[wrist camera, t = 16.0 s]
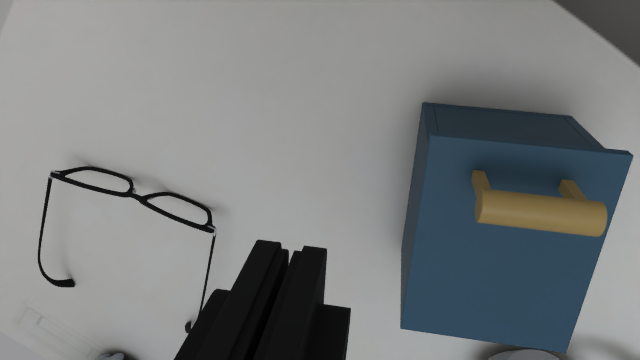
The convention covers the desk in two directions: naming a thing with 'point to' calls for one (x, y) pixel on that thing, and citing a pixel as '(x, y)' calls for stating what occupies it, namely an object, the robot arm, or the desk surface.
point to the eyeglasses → (130, 193)
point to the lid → (508, 237)
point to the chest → (486, 125)
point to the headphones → (524, 355)
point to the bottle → (111, 357)
